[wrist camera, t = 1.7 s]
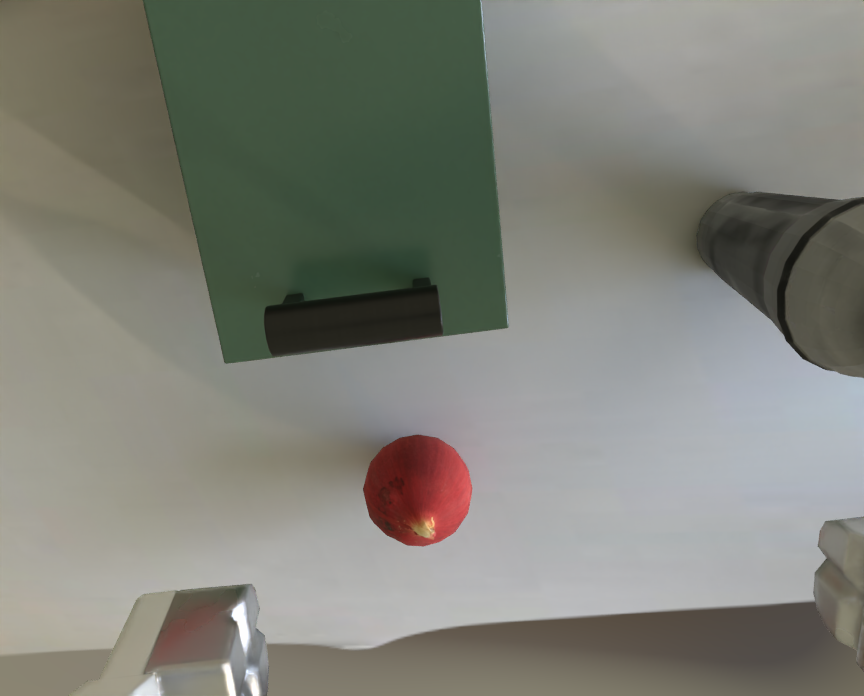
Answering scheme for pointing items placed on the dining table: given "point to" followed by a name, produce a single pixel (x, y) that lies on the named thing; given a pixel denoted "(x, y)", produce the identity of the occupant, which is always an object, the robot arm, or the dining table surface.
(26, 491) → the dining table surface
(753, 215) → the beverage cup
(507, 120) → the dining table surface
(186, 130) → the green box lid
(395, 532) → the onion
